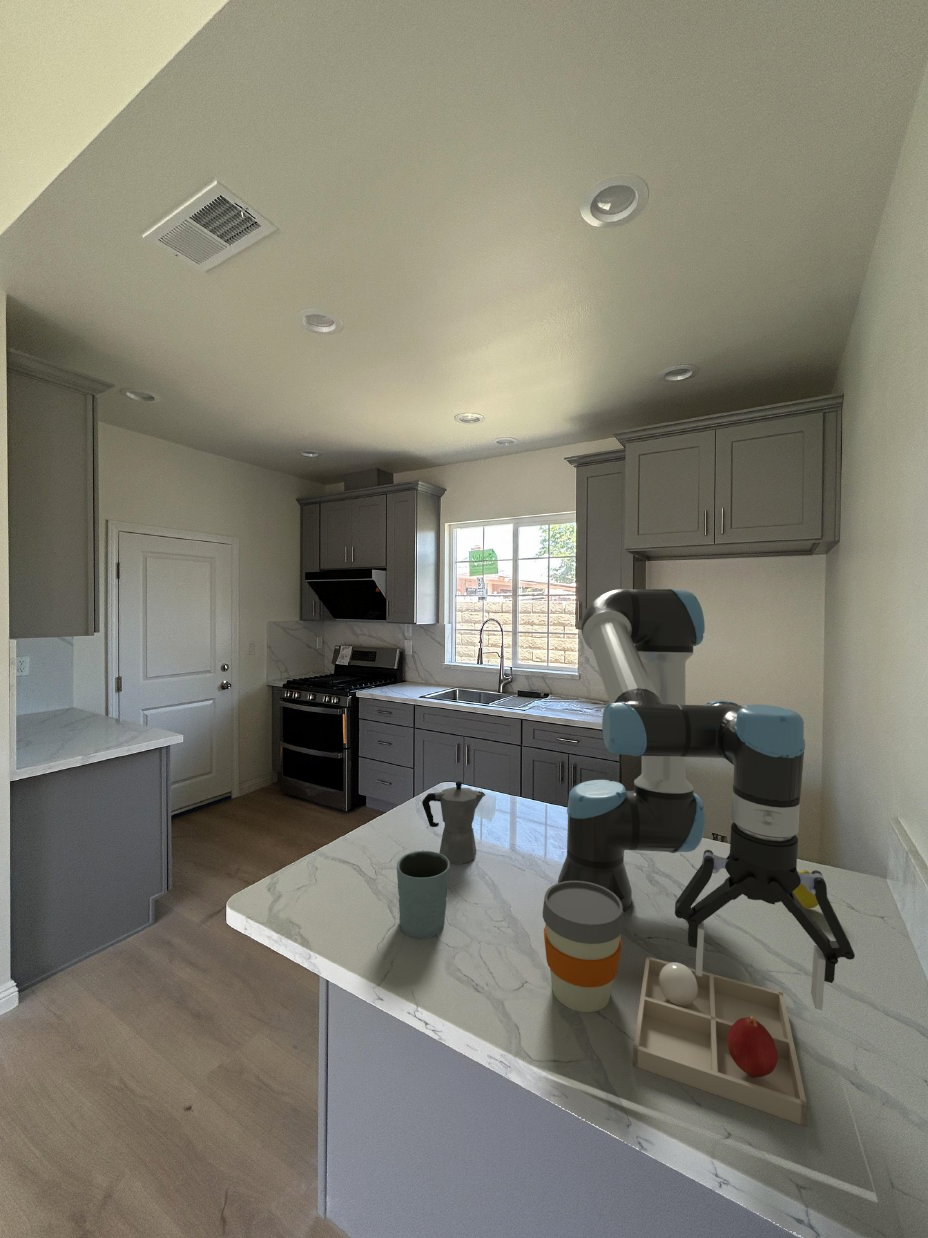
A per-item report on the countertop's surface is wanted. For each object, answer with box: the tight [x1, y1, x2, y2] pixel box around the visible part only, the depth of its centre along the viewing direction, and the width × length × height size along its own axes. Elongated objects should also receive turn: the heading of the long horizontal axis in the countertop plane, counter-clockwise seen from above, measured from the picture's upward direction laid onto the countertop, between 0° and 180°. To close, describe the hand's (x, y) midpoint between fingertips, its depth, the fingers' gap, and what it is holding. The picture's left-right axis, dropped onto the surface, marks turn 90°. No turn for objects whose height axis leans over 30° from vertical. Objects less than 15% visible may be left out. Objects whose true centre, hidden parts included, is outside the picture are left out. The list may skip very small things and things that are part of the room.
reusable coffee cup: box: [542, 881, 625, 1013], centre depth 85 cm, size 13×13×15 cm
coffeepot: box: [421, 781, 486, 865], centre depth 129 cm, size 15×9×18 cm, turn 103°
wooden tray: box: [632, 955, 808, 1127], centre depth 77 cm, size 20×20×3 cm
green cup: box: [396, 850, 451, 939], centre depth 102 cm, size 10×10×12 cm
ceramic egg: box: [659, 961, 698, 1006], centre depth 83 cm, size 6×6×6 cm
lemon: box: [793, 869, 819, 910], centre depth 109 cm, size 6×6×8 cm
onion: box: [727, 1016, 778, 1078], centre depth 70 cm, size 6×6×8 cm
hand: (755, 985), depth 70 cm, fingers open, 13 cm apart
